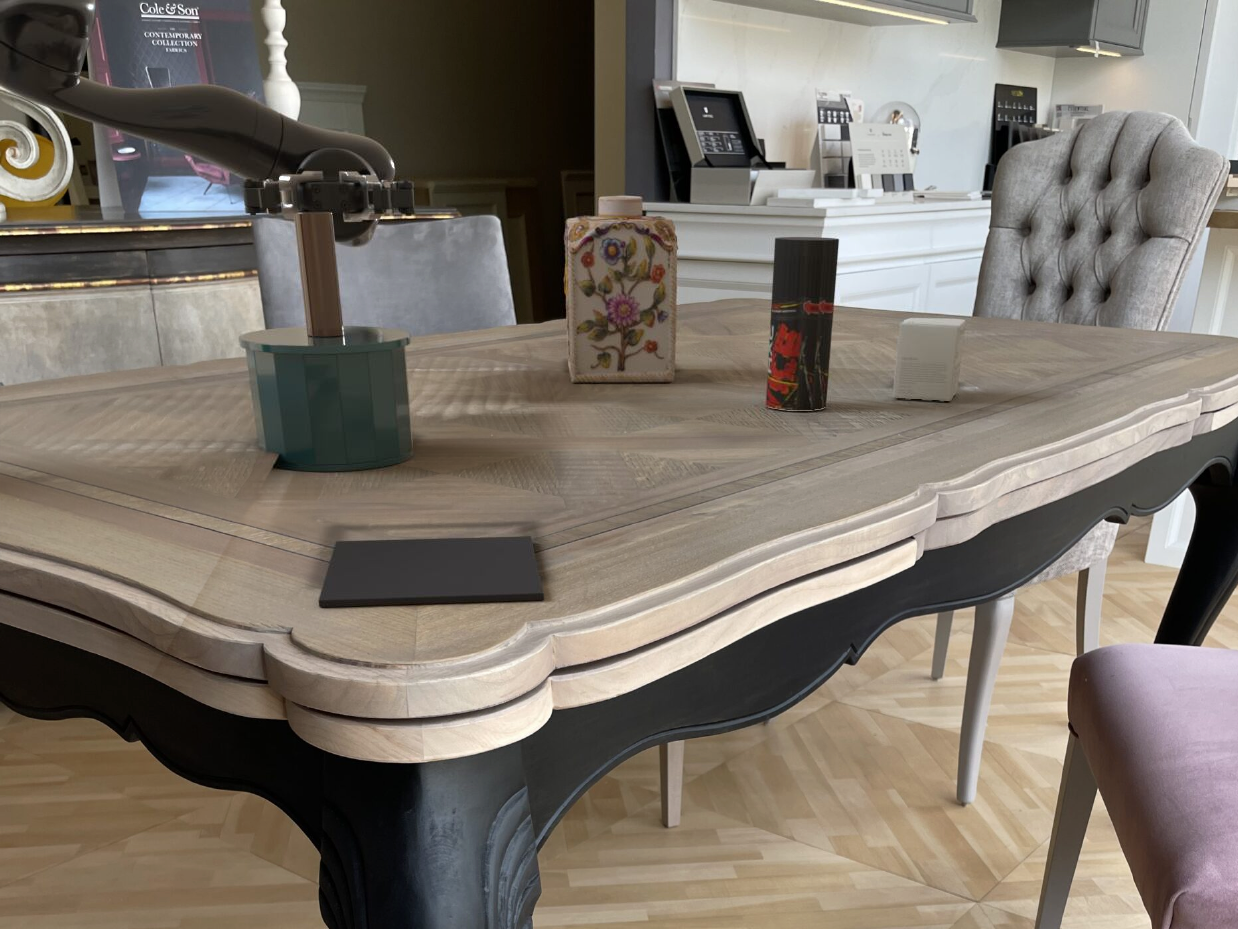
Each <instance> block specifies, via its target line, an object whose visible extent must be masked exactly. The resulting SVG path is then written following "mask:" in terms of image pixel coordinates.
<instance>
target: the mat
mask: <svg viewBox="0 0 1238 929" xmlns="http://www.w3.org/2000/svg"><path fill="white" fill-rule="evenodd" d="M327 567H328V568H327V571H326V574H325V577H324V581H323V584H322V587H321V591H320V594H319V598H318V607H319V608H336V607H337V608H339V607H368V606H369V607H371V606H372V607H373V606H399V605H400V606H401V605H403V606H404V605H431V604H432V605H433V604H435V605H436V604H463V603H467V604H468V603H495V602H498V603H499V602H525V601H527V602H529V601H544V600H545V593H544V588H543V584H542V580H541V575H540V570H539V567H538V562H537V557H536V553H535V548H534V545H533V540H532V536H530V535H528V536H526V535H525V536H524V535H523V536H520V535H519V536H489V537H487V536H486V537H483V536H482V537H480V536H479V537H446V538H445V537H444V538H410V539H409V538H408V539H407V538H405V539H373V540H372V539H369V540H367V539H365V540H336V541H335V544H334V547H333V550H332V554H331V557H330V560H329V565H328V566H327Z"/></svg>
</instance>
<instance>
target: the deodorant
mask: <svg viewBox="0 0 1238 929" xmlns="http://www.w3.org/2000/svg"><path fill="white" fill-rule="evenodd" d="M839 246H840V238H836V237H835V238H834V237H821V236H820V237H819V236H818V237H817V236H782V237H775V238H774V251H773V268H772V288H771V304H770V305H771V307H770V323H769V339H768V340H769V341H768V358H767V359H768V360H767V376H766V395H765V406H766V405H767V406H769V407H772V408H777V409H785V410H815V409H821V408H824V407H826V408H827V401H828V399H827V398H828V386H829V376H830V375H829V373H830V362H831V350H832V349H831V348H832V334H833V322H834V312H835V311H834V310H835V298H836V296H835V295H836V284H837V273H838V272H837V271H838V260H839Z"/></svg>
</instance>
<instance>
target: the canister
mask: <svg viewBox="0 0 1238 929" xmlns="http://www.w3.org/2000/svg"><path fill="white" fill-rule="evenodd" d="M406 347H407V346H404V347H401V348H396V349H391V350H384V351H376V352H365V353H350V354H279V353H266V352H258V351H252V350H247V349H245V355H246V356H245V357H246V362H247V371H248V378H249V385H250V394H251V402H252V408H253V416H254V423H255V424H254V425H255V430H256V431H255V432H256V438H257V446H258V447H260V448H261V449H262V450H264V451H266V452H270V453H274V454H278V456H277V458H276V460H274V463H273V465H272V467H274V468H278V469H282V470H283V469H284V470H291V471H300V472H301V471H302V472H320V473H321V472H322V473H323V472H325V473H327V472H328V473H329V472H352V471H363V470H365V471H366V470H371V469H379V468H385V467H389V466H394V465H397V464H400V463H403V462H406V461H408V460H410V459H411V458H412V457H413V455H414V450H413V449H414V448H413V446H414V442H413V428H412V427H413V426H412V415H411V402H410V400H411V399H410V388H409V387H410V386H409V376H408V374H409V373H408V363H407V362H408V361H407V349H406Z"/></svg>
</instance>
